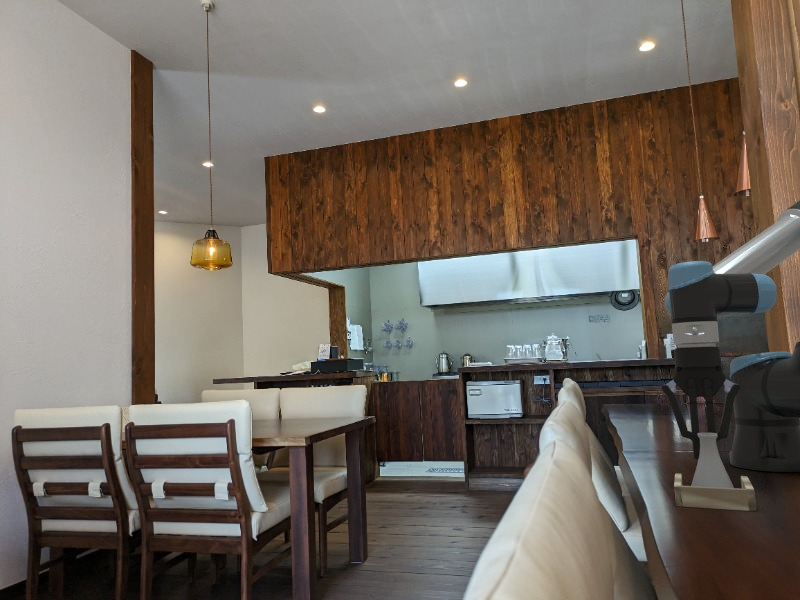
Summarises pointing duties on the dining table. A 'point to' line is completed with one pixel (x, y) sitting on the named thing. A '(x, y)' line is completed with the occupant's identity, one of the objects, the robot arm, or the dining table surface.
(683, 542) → the dining table surface
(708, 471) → the flask
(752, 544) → the dining table surface
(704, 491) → the caddy
